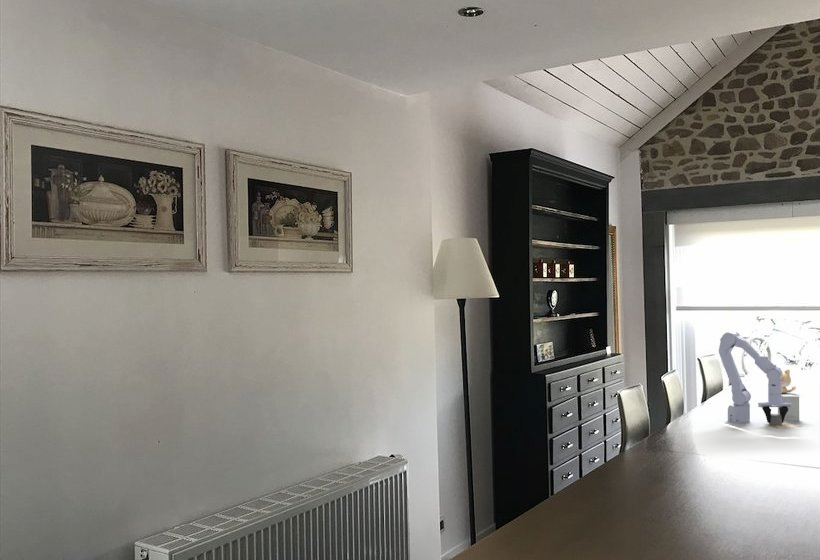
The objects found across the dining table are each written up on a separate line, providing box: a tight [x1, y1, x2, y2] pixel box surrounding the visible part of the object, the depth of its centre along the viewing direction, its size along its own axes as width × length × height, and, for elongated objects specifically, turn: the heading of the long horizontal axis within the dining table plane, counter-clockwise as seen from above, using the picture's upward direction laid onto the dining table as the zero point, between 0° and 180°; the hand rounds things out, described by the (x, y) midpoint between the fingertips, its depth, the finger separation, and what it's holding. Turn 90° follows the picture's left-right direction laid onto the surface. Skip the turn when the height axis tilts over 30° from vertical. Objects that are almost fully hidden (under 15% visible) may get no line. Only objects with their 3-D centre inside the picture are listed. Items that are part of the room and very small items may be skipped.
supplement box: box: [777, 393, 800, 422], centre depth 370 cm, size 7×7×13 cm
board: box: [764, 422, 802, 429], centre depth 354 cm, size 13×10×1 cm
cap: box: [768, 413, 782, 425], centre depth 356 cm, size 5×5×4 cm
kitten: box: [780, 368, 797, 394], centre depth 460 cm, size 15×10×15 cm
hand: (775, 422), depth 357 cm, fingers closed on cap, 5 cm apart
